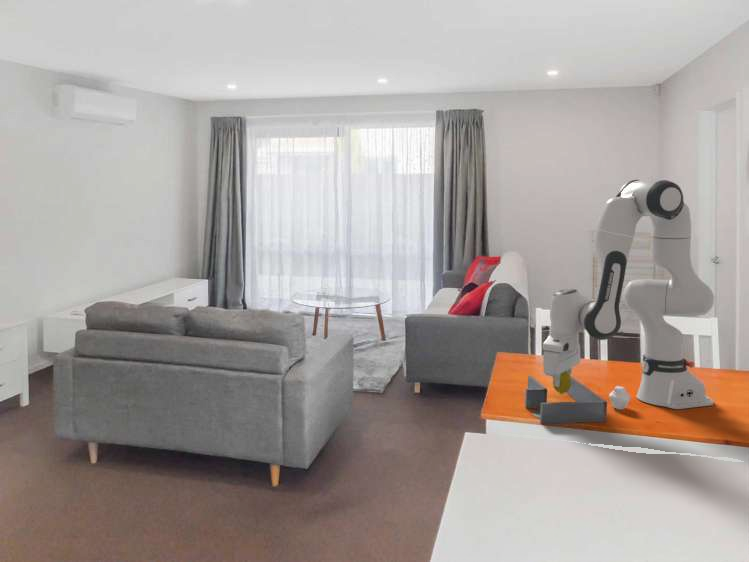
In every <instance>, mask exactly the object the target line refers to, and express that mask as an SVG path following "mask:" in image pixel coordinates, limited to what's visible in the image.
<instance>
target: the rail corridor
mask: <svg viewBox="0 0 749 562" xmlns="http://www.w3.org/2000/svg"><path fill="white" fill-rule="evenodd" d="M570 378H571V387H570V389H569V390H568V391H567V392H565V393H566V394H567V395H568V396H569V397H570V398H572V399H573V400H575V401H558V402H557V401H556V402H555V401H554V402H552V401H551V402H547V401H548V389H547V388H546V387H545V386H544V385H543V384H541V382H539V381H538V380H537V379H536V378H534V377H533V376H532V375H527V388H525V392H524V393H525V396H524V397H525V399H524V401H525V402H524V408H525V409H536V410H533V411H532V412H531V415H532V417H534V418H536V419H539V423H540V425H545V424H546V425H549V424H554V425H555V424H574V423H575V424H576V422H583V423H604V422H607V413H608V412H607V411H608V401H607V400H605V399H604V398H603V397H601V396H599V394H598V393H595V392H594V391H593V390H591V389H590V388H589V387H587V386H585V384H582V383H581V382H580V381H578V380H577V379H575V378H574V377H573V376H572V375H571V376H570Z"/></svg>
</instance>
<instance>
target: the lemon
mask: <svg viewBox="0 0 749 562" xmlns="http://www.w3.org/2000/svg"><path fill="white" fill-rule="evenodd" d="M560 381H561V386H559V387H555V386H554V380H553V379H552V385H553V388H554V390H555V391H556V392H557V393H559V394H560V395H563V394H564V393H566V392H567V391H568V390H569V389H570V387H571V378H570V375H569V374H568V373H567V372H563V373H561V375H560Z"/></svg>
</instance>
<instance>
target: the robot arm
mask: <svg viewBox="0 0 749 562" xmlns="http://www.w3.org/2000/svg"><path fill="white" fill-rule="evenodd" d="M684 202H685V201H684V193H683V191H682V188H681V187H680V186H679V185H678V184H677V183H675V182H673V181H670V180H666V179H663V180H661V179H657V178H655V179H654V178H648V179H634V180H629V181H627V182H625V183H624V184H623V185H622V186H621V187H620V189H618V192H617V194H616V196H615V197H611V198H609V199H608V200H607V201H606V202H605V205H604V207H603V208H602V210H601V213H600V215H599V217H598V220H597V221H598V222H597V224H596V229H595V231H594V237H593V247H592V248H593V249H592V250H593V251H592V252H593V254H594V256H595V258H596V260H597V262H598V264H599V267H600V281H599V286H598V291H597V295H596V299H594V298H591V297H589V296H586V295H584V294H583V293H581V292H580V291H579V290H577V289H574V288H565V289H561V290H558V291H555V293H553V295H552V297H551V301H550V309H549V319H550V320H549V321H550V327H549V332H548V335H547V338H546V340H545V341H544V342H543V343H542V350H543V356H542V357H543V358H542V359H543V361H542V362H543V363H542V364H543V365H542V366H543V367H542V370H543V374H544V375H545V376H547V377H551V378H552V381H553V380H554V386H555V387H559V386H561V381H560V375H561V373H563V372H567V373H568V374H569V375H570V376H571V377H572V373H573V369H574V368H575V367H576V366H578V365H579V364H580V362H581V344H580V343H579V340H580V339H579V338H580V337H579V335H580V334H579V333H580V330H584V331H586V332H587V334H588V335H589V336H590V337H592V338H593V339H595V340H598V341H607V340H610V339H612V338H613V337H615V336H616V335H617V334H618V332H619V331H620V329H621V326H622V320H621V319H622V318H621V313H620V303H621V298H623V302H624V304H625V306H626V307H627V308H628V310H629V311H631V312H632V313H633V314H635V316H636V317H637V318H638V319H639V321H640V323H641V325H642V328H643V332H644V354H643V355H642V362H641V363H642V364H641V365H642V367H641V370H642V374H641V375H642V376H641V381H640V384H639V388H638V391H637V393H636V398H637V399H638V400H639V401H641V402H644V403H647V404H651V405H654V406H658V407H666V408H669V409H672V410H673V409H674V410H683V409H691V408H699V407H707V406H708V407H709V406H714V400H713V399H712V398H711V397H710V396H708V395H707V393H706V386H705V384H704V382H703V381H702V380H700V378H698V377H697V376H696V375H694V374H693V373H692V372H691V371H690V370H688V368H691V369H692V368H694V367H695V362H694V361H693V360H690V359H688V360H687V359H685V358H684V357H683V355H684V345H685V344H684V342H685V338H684V334H683V333H682V331H681V330H680V329H679V328H677V327H675V326H674V325H671V324H670V323H668V322H667V321H666V319H665V318H664V316H666V315H668V316H681V317H700V316H705V315H707V314H708V313H709V312H710V311H711V310H712V308H713V306H714V303H715V297H714V292H713V290H712V289H711V288H710V286H709V285H708V284H706V283H705V282H703V280H701V278H699V277H698V275H697V273H696V272H695V269H694V268H693V265H692V260H691V242H692V241H691V240H692V239H691V237H692V222H691V221H692V219H691V213H690V208H689V206H688V205H687V204H686V203H684ZM642 217H649V218H650V219H651V224H652V225H651V237H650V238H651V239H650V254H649V255H650V258H649V259H650V260H651V263H652V264H653V265H654V266H656V267H657V268H658V269H661V270H663V271H665V272H666V273H667V274H668V275H669V276H670V279H655V278H641V279H634V280H633V279H632V280H630V281H629V282H628V283H627V284H626V286H625V287H624V289H623V286H624V280H625V275H626V269H627V265H628V261H629V256H630V254H631V248H632V246H633V242H634V239H635V238H634V237H635V234H636V229H637V224H638V223H639V221H640V220H641V218H642ZM622 292H623V293H622ZM621 296H622V297H621ZM554 386H553V387H554Z"/></svg>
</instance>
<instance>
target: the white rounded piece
mask: <svg viewBox="0 0 749 562" xmlns="http://www.w3.org/2000/svg"><path fill="white" fill-rule="evenodd" d="M608 397H609V401H610V404H612V407H613V408H614V409H615V408H616V410H625V408H626V407H627V405H628V404H629V402H630V400H631V396H630V394H629V393H628V392H627V389H626V387H624V386H620V385H617V386H615V387H614V388H613V390H612V391H611V392H610V393H609V394H608Z"/></svg>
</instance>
